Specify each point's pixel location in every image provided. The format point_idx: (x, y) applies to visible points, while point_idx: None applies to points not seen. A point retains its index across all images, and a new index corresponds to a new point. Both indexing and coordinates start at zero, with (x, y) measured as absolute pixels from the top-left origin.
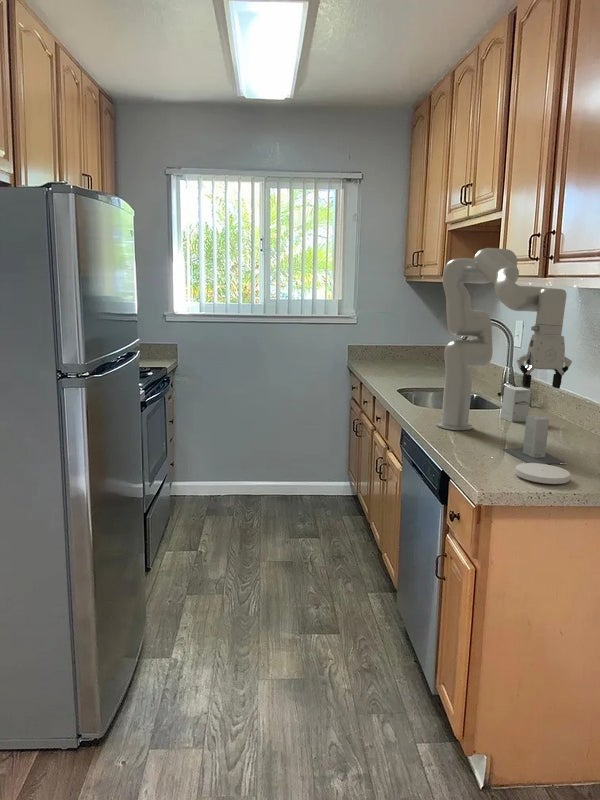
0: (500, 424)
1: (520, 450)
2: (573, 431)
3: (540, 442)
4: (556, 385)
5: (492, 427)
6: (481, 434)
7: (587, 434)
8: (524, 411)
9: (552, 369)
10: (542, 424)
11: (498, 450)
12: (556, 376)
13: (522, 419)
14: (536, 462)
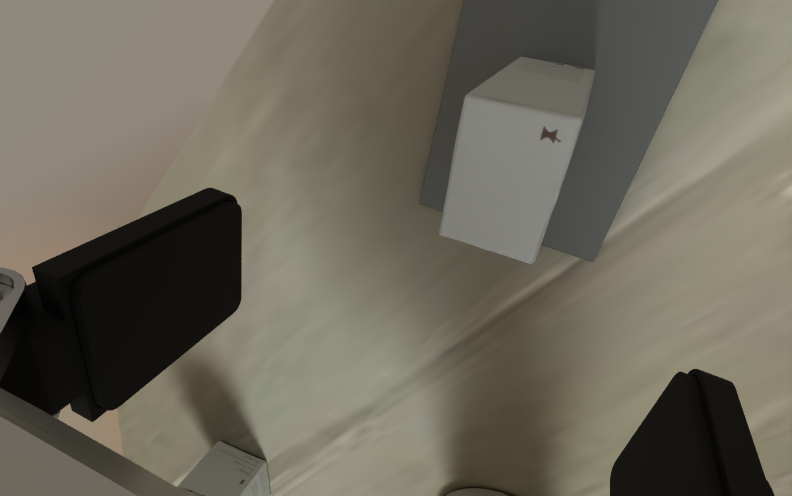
0: (316, 464)
1: None
2: None
3: (550, 74)
4: (219, 240)
5: (366, 461)
6: (476, 438)
7: None
8: (208, 471)
9: (94, 441)
10: (534, 96)
11: (622, 263)
12: (111, 337)
13: (229, 451)
14: None
